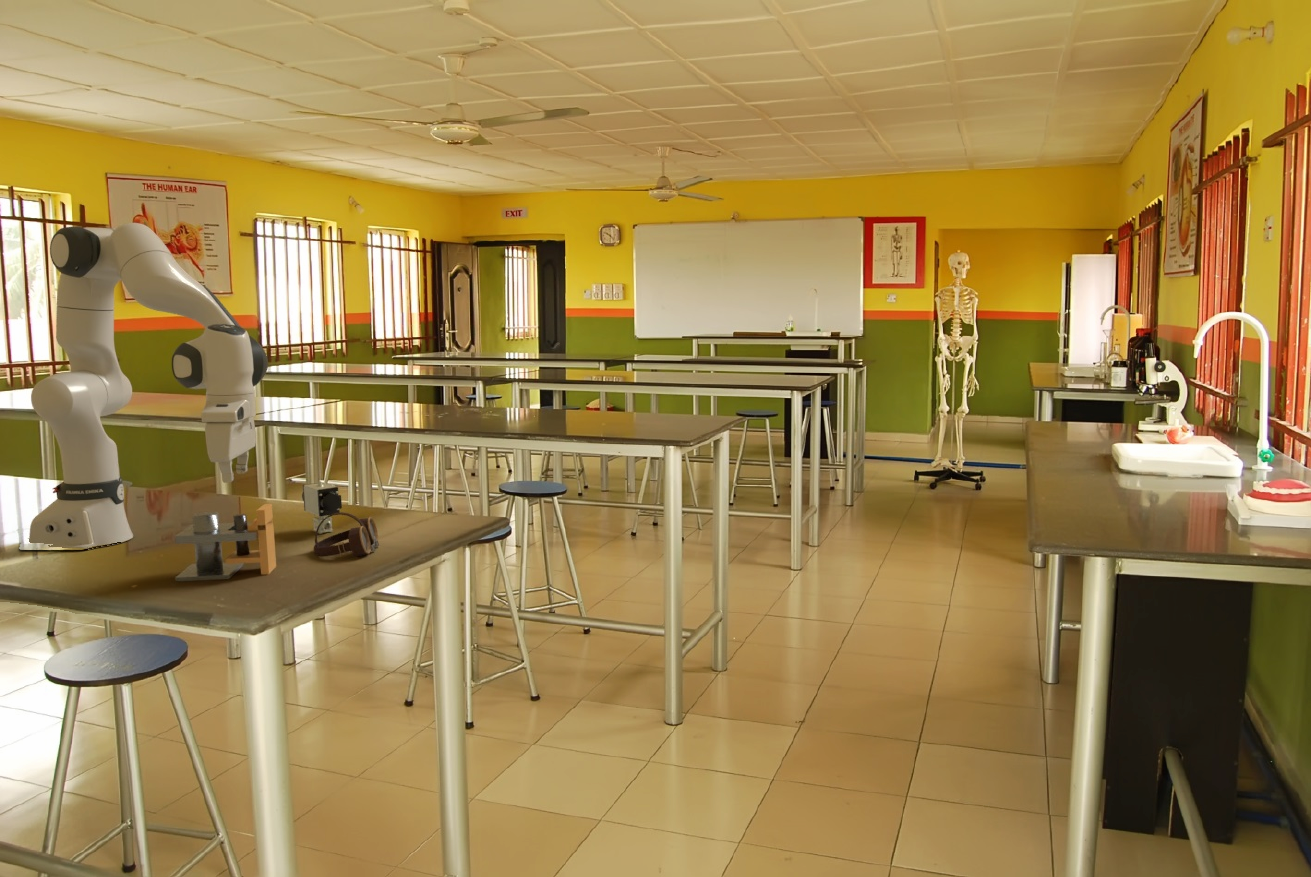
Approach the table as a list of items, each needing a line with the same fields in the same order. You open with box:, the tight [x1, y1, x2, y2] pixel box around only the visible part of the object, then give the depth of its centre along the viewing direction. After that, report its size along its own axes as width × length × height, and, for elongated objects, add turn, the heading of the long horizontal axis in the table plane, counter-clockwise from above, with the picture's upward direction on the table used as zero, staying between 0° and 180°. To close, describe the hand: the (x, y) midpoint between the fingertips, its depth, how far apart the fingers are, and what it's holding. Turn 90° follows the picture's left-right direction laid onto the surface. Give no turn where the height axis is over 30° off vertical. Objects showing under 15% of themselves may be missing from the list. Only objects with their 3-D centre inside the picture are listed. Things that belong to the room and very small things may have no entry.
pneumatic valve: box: [301, 480, 343, 535], centre depth 234 cm, size 6×12×12 cm, turn 42°
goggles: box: [313, 511, 380, 558], centre depth 215 cm, size 15×13×10 cm
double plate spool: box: [173, 511, 259, 582], centre depth 200 cm, size 16×10×12 cm, turn 97°
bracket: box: [225, 503, 277, 576], centre depth 200 cm, size 8×6×13 cm
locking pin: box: [233, 513, 251, 556], centre depth 200 cm, size 2×2×8 cm
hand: (235, 477), depth 198 cm, fingers open, 8 cm apart
